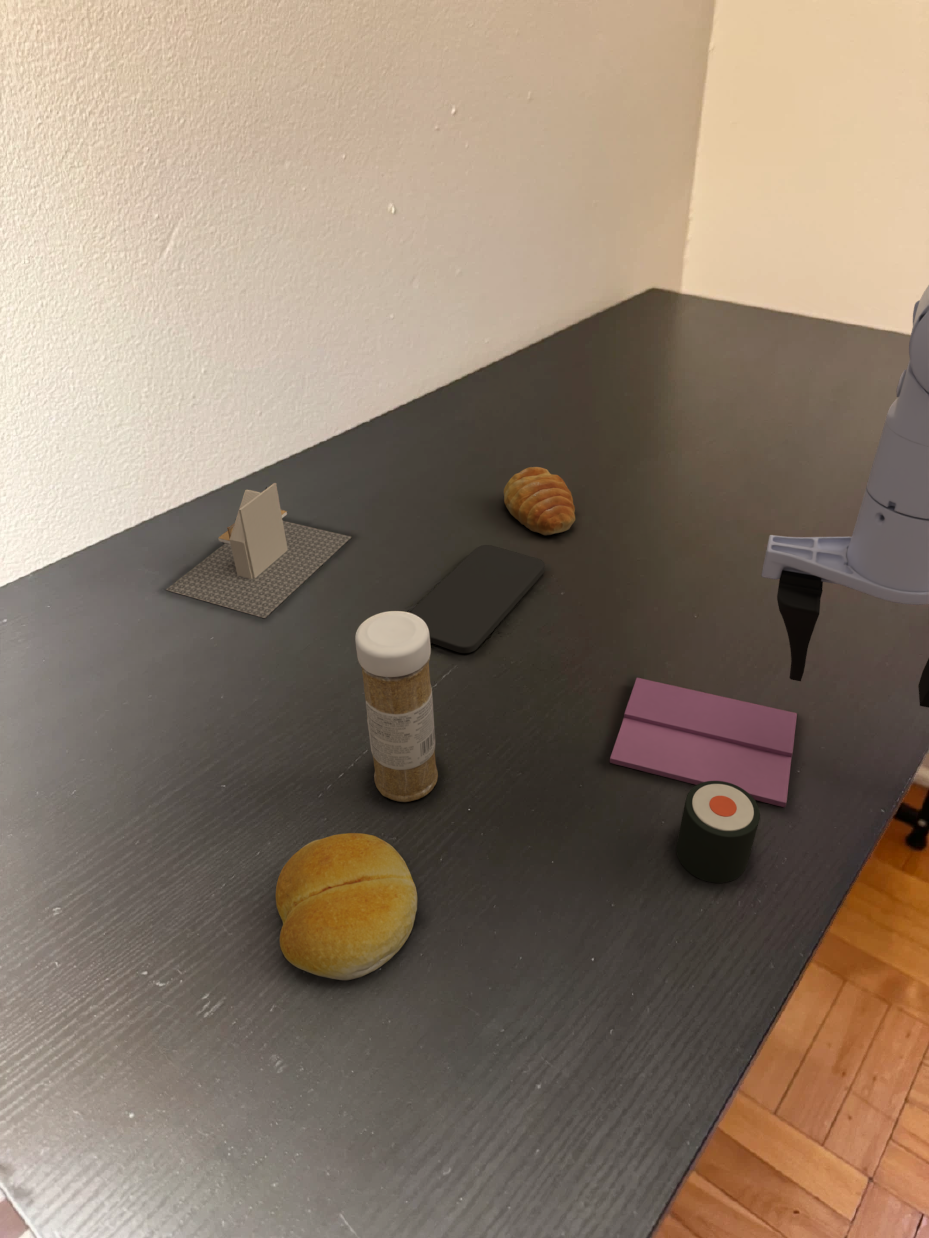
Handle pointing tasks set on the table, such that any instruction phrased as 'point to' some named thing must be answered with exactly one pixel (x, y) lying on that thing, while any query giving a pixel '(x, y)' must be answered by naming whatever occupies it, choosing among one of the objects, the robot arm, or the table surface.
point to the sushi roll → (717, 831)
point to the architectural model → (259, 558)
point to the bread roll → (345, 905)
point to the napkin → (707, 739)
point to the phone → (477, 596)
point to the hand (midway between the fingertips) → (859, 683)
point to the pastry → (540, 501)
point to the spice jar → (399, 703)
